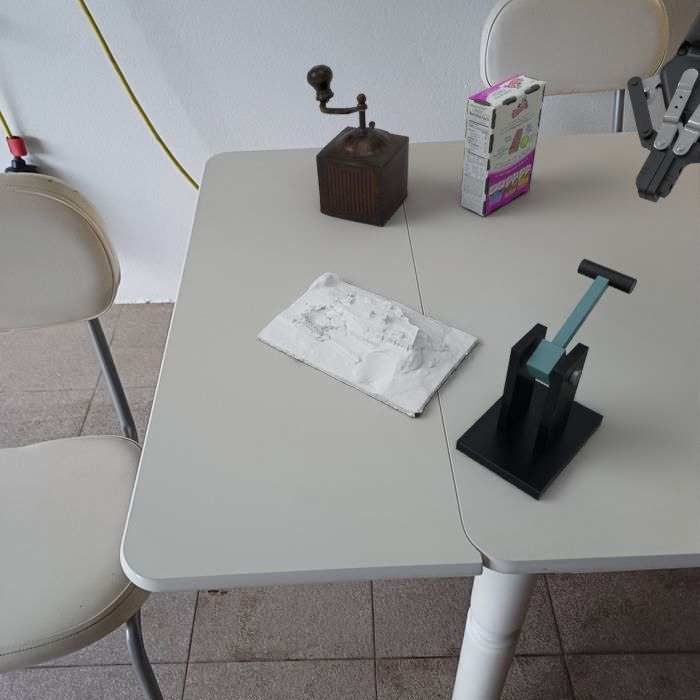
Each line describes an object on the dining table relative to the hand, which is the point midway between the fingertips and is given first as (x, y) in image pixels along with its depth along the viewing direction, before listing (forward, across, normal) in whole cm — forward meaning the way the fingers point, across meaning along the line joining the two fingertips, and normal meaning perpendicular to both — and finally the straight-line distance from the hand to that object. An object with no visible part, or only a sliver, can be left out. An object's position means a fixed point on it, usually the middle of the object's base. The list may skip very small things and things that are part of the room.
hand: (646, 197), depth 56 cm
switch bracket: (+24, 0, +5) cm, 24 cm away
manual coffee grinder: (+8, -45, +21) cm, 50 cm away
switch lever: (+13, 0, +1) cm, 13 cm away
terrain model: (+24, -22, +5) cm, 33 cm away
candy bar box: (-2, -28, +31) cm, 42 cm away
